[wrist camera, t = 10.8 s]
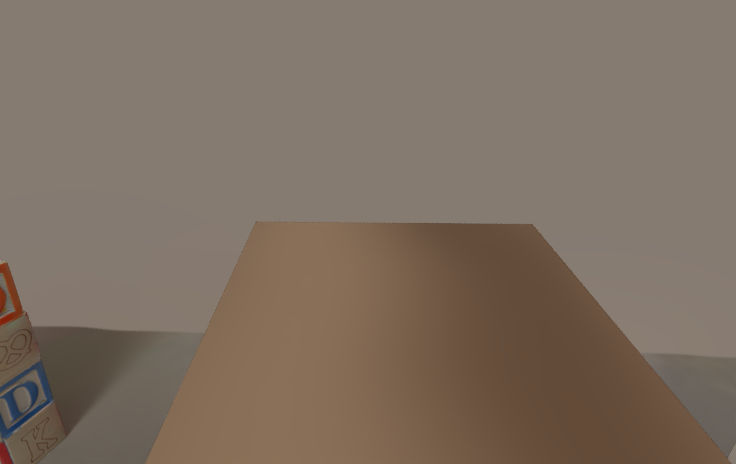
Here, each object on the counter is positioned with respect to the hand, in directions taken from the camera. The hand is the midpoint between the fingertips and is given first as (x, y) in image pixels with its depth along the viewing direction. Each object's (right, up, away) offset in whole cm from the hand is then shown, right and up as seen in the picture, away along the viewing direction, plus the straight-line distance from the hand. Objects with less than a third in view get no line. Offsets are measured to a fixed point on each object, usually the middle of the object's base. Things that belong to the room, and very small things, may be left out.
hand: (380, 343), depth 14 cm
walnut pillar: (0, -8, -2) cm, 8 cm away
